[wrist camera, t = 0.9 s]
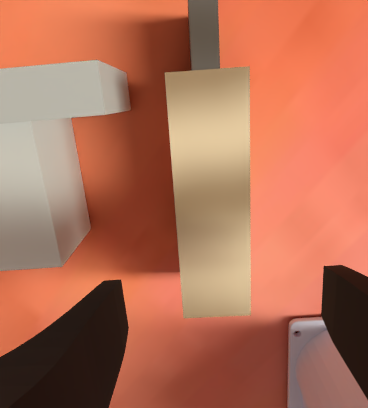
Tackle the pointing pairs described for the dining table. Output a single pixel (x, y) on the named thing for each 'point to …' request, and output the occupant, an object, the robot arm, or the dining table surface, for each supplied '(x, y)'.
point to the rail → (211, 173)
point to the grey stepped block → (48, 157)
